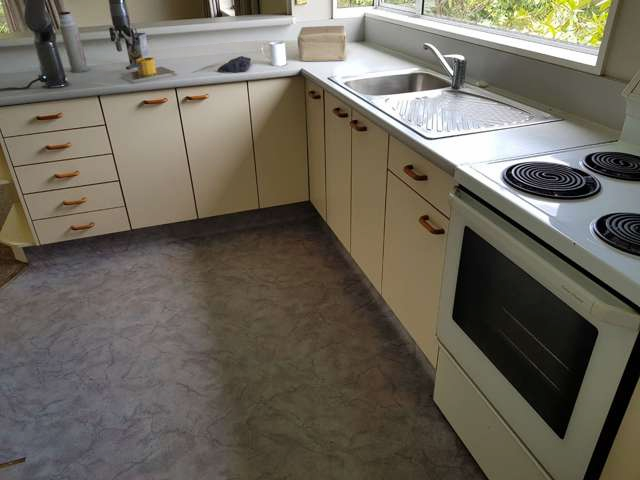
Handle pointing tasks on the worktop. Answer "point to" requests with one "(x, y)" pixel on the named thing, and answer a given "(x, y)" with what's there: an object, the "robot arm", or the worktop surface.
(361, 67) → the worktop surface
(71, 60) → the thermos bottle
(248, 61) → the dark slate chunk
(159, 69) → the board
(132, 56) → the coffee box
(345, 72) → the worktop surface
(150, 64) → the pot
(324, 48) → the paper package
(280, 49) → the mug
